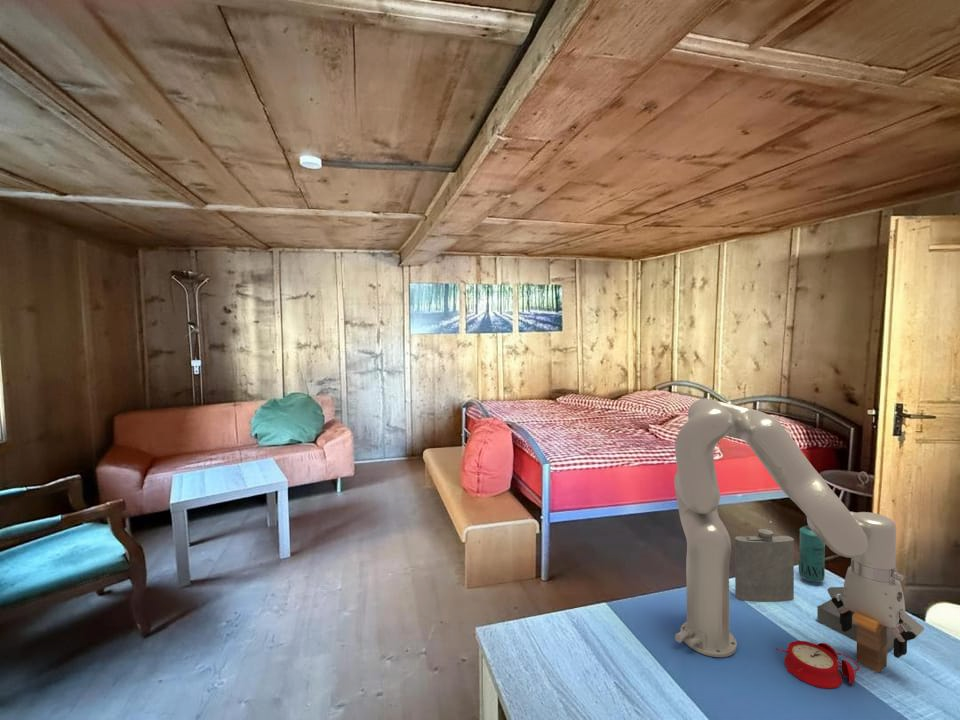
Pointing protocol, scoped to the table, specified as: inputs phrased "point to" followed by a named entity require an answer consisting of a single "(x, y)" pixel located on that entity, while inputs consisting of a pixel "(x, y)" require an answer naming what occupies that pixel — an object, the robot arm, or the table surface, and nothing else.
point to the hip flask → (764, 567)
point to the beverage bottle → (811, 555)
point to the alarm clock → (817, 664)
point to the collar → (831, 618)
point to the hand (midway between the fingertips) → (871, 641)
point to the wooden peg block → (871, 643)
